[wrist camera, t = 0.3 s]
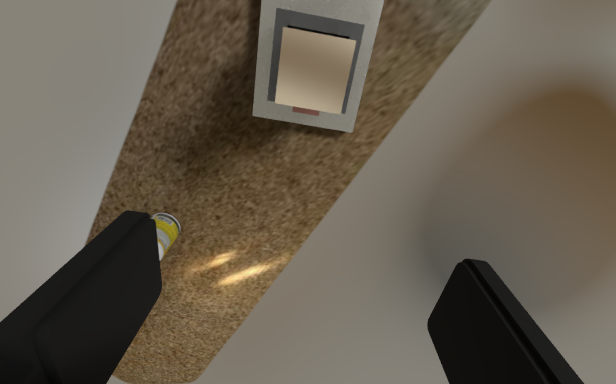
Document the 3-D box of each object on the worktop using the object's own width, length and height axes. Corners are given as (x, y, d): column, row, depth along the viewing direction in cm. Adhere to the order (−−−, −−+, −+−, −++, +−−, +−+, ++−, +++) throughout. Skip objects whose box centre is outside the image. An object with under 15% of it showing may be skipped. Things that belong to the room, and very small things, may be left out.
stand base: (266, -26, 29) (247, -57, 21) (381, -3, 30) (410, -23, 21) (255, 112, 36) (236, 134, 27) (350, 128, 36) (362, 155, 28)
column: (296, 34, 30) (281, 24, 15) (336, 42, 30) (358, 38, 16) (290, 78, 32) (272, 104, 17) (328, 84, 32) (341, 116, 17)
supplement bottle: (158, 240, 45) (126, 279, 37) (143, 215, 43) (107, 251, 35) (186, 235, 44) (160, 273, 37) (173, 209, 42) (143, 244, 35)
